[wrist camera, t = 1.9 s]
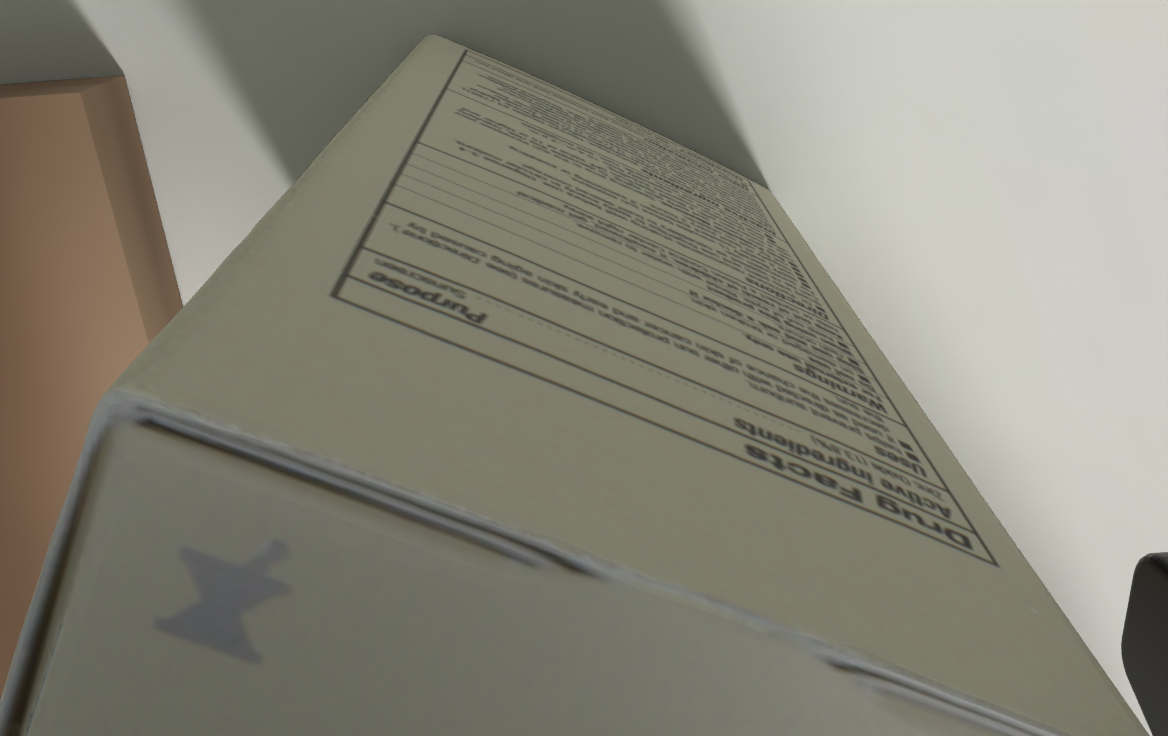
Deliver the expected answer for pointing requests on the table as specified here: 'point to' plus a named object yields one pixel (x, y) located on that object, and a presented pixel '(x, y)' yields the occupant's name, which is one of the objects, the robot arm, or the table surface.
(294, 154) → the table surface
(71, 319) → the serum stand
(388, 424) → the skincare box
